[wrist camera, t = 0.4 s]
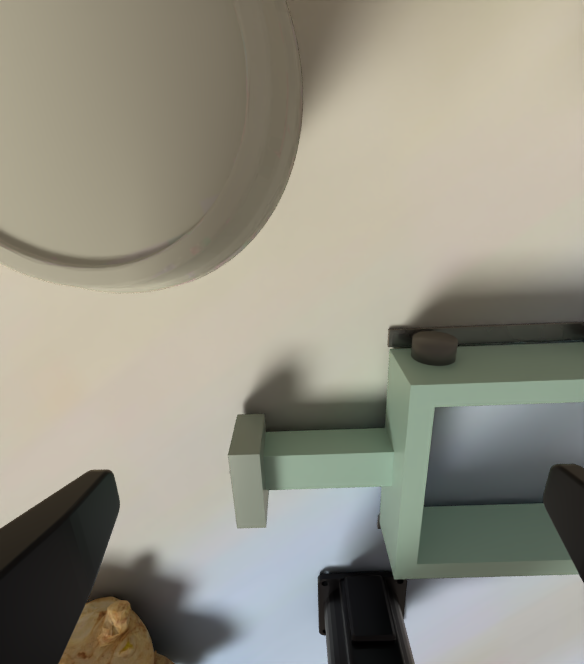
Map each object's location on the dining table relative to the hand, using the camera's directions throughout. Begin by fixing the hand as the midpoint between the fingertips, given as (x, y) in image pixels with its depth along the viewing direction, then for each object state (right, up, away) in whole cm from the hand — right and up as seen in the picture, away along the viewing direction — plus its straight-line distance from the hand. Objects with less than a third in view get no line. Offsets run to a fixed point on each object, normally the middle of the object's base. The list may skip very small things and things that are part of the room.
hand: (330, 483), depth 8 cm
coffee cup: (-5, +12, +10) cm, 16 cm away
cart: (+7, -4, +15) cm, 18 cm away
